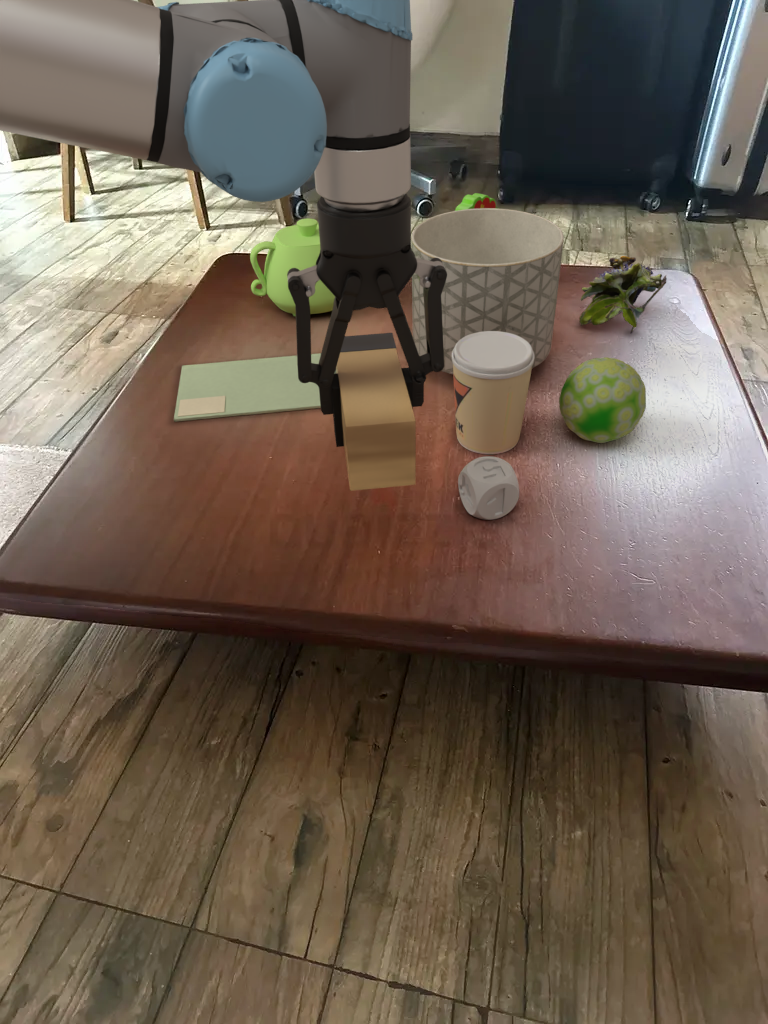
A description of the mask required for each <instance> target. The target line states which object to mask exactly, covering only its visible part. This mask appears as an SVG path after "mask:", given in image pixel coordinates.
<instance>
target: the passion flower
mask: <svg viewBox="0 0 768 1024" xmlns="http://www.w3.org/2000/svg"><path fill="white" fill-rule="evenodd" d="M608 261H609V268H608V269H609V271H608V270H604V271H603V273H598V275H599V276H597V277H595V276H594V279H593V280H592V281H589V282H588V284H589V285H590V286H588V287H582V288H581V290H582V291H583V292H584V293H583V294H582V295H581V298H580V301H581V302H582V301H584V300H585V299H587V298H588V297H592V298H591V302H590V303H589V304H588V306H587V307H586V309H585V310H584V311H583V312H582V313H581V314H580V316H579V324H580V326H582V327H583V326H585V325H588V324H591V325H593V326H598V325H602V324H605V323H606V322H608V321H610V320H611V319H613V318H614V317H616V316H618V315H619V314H620V313H622V317H623V318H624V321H625V322H626V323H627V324H628V325H630V326H631V330H630V333H629V334H631V335H632V334H633V332H634V330H635V328H637V327H638V325H637V323H638V321H639V319H640V317H641V315H642V314H643V313H644V312H645V309H646V307H647V305H648V304H649V303H650V302H651V301H652V300H653V299H654V298H655V296H656V295H657V294H658V293H659V292H660V290H662V289H663V288H664V286H665V285H666V284H667V280H668V279H667V275H664V277H663V274H662V273H659V274H657V275H654V271H652V270H653V267H650V266H649V265H647V267H646V264H645V265H643V264H641V262H637V263H635V262H636V261H637V258H636V257H630V256H626V255H621V256H620V257H619V258H616V257H610V258H609V259H608ZM610 267H612V269H611V268H610ZM662 277H663V278H662ZM643 291H645V292H648V293H652V294H651V296H650V297H649V298H648V299H647V300H646V302H644V303H643V304H641V305H640V306H637V307H636V306H635V303H636V302H637V299H638V298H639V296H640V295H641V293H642V292H643Z"/></svg>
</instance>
